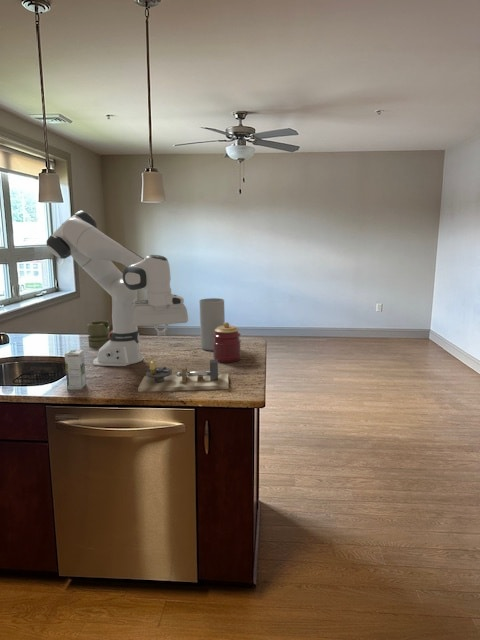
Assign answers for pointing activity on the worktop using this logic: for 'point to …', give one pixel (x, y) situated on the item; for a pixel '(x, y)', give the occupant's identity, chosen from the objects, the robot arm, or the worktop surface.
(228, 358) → the canister
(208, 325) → the cylinder vase
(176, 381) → the board
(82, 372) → the syrup box
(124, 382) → the worktop surface
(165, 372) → the handwheel
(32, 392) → the worktop surface
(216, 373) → the hammer
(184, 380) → the eye post
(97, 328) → the olive green mug
